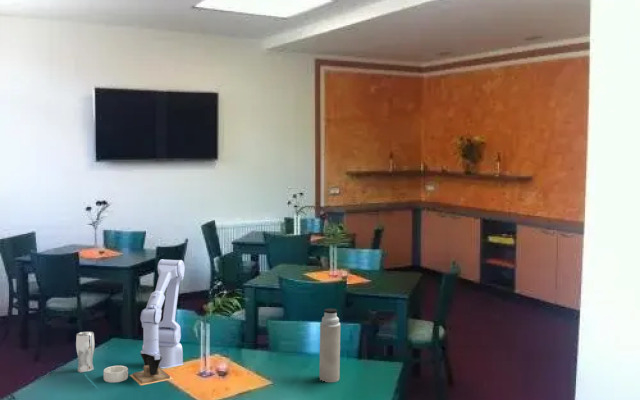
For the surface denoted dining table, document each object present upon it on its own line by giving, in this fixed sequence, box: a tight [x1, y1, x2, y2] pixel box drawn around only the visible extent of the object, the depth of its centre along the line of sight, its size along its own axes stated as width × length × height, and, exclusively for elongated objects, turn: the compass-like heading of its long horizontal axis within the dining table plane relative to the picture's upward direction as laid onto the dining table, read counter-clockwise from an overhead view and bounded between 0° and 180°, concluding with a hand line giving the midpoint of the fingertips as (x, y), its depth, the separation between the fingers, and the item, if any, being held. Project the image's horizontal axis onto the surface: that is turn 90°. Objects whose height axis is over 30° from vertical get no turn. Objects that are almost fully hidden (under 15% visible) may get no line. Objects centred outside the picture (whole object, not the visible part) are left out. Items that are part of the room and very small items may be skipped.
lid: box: [132, 365, 171, 385], centre depth 256 cm, size 11×11×4 cm
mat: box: [129, 374, 174, 386], centre depth 256 cm, size 13×13×1 cm
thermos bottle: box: [318, 308, 341, 383], centre depth 257 cm, size 8×8×28 cm
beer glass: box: [75, 331, 95, 374], centre depth 263 cm, size 7×7×15 cm
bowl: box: [103, 365, 129, 383], centre depth 254 cm, size 9×9×4 cm
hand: (151, 372), depth 256 cm, fingers open, 4 cm apart
